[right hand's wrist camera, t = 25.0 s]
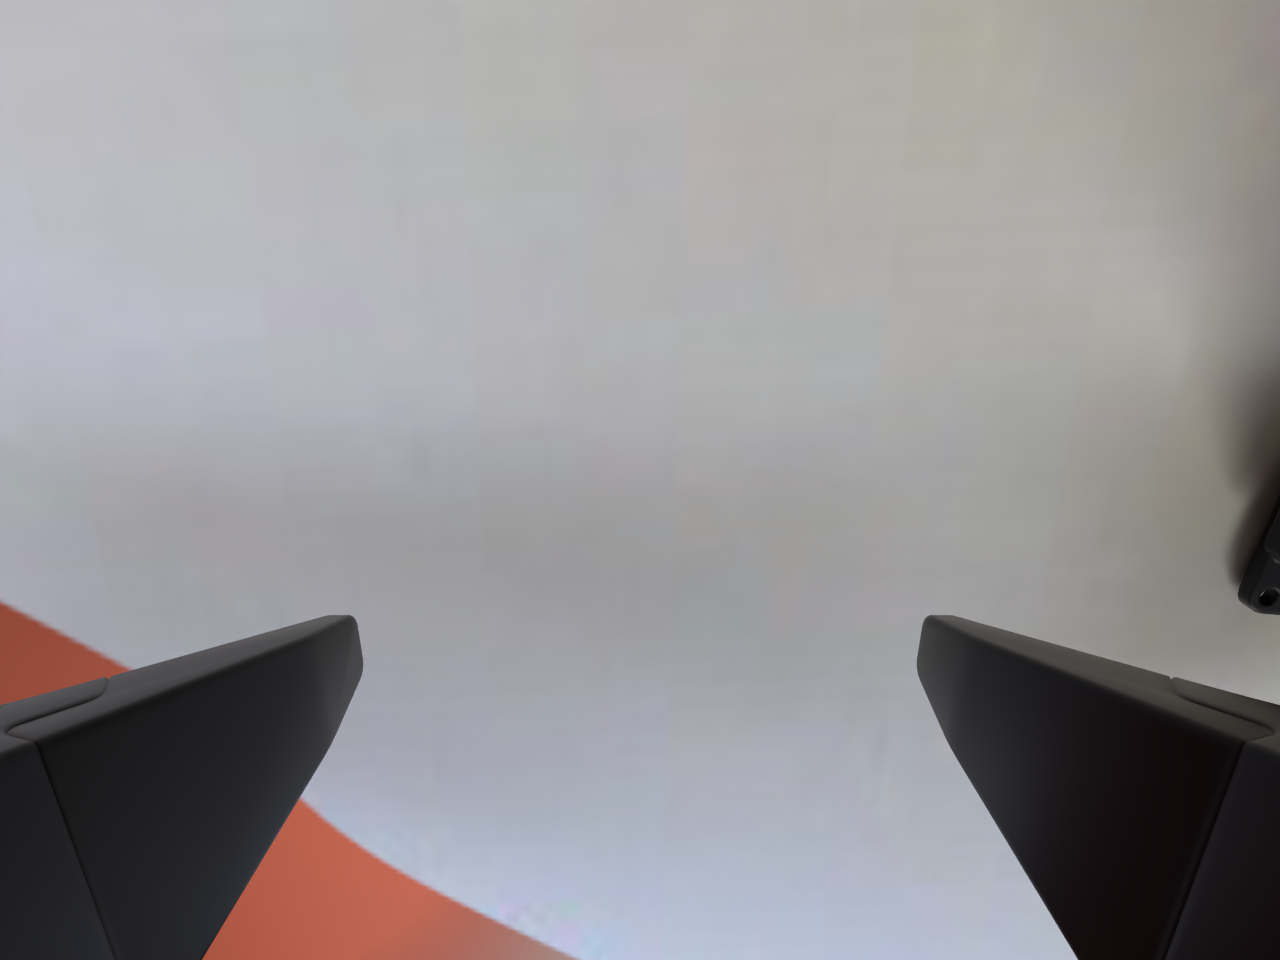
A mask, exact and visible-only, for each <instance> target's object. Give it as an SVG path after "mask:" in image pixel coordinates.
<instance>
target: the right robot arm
mask: <svg viewBox="0 0 1280 960" xmlns="http://www.w3.org/2000/svg"><path fill="white" fill-rule="evenodd" d="M1264 591H1265V592H1264ZM1262 592H1264V594H1263V595H1261V594H1262ZM1260 595H1261V596H1260ZM1259 596H1260V597H1259ZM1238 598H1239V600H1240V601H1241V602H1242V603H1243V604H1244V605H1246V606H1247V607H1249V608H1250V609H1252V610H1253V611H1255V612H1258V613H1263V614H1275V615H1280V497H1279V499H1278V501H1277V504H1276V506H1275V508H1274V511H1273V513H1272V515H1271V517H1270V520H1269V522H1268V524H1267V526H1266V529H1265V531H1264V533H1263V535H1262V538H1261V540H1260V542H1259V544H1258V547H1257V549H1256V551H1255V553H1254V556H1253V558H1252V560H1251V563H1250V565H1249V567H1248V569H1247V572H1246V574H1245V576H1244V578H1243V581H1242V583H1241V585H1240V587H1239V591H1238ZM362 671H363V657H362V651H361V644H360V638H359V632H358V626H357V622H356V620H355V618H354V617H353V616H350V615H329V616H324V617H320V618H317V619H313V620H310V621H306V622H303V623H299V624H296V625H292V626H288V627H285V628H281V629H278V630H274V631H271V632H267V633H263V634H260V635H256V636H253V637H249V638H246V639H242V640H239V641H235V642H231V643H228V644H224V645H221V646H217V647H214V648H210V649H207V650H203V651H199V652H196V653H192V654H189V655H185V656H182V657H178V658H174V659H171V660H167V661H164V662H160V663H157V664H153V665H150V666H146V667H142V668H139V669H135V670H132V671H128V672H125V673H121V674H118V675H114V676H111V677H110V679H108V678H106V677H104V678H100V679H96V680H93V681H89V682H85V683H82V684H79V685H75V686H71V687H67V688H64V689H60V690H56V691H52V692H49V693H45V694H41V695H38V696H34V697H30V698H26V699H23V700H19V701H15V702H11V703H7V704H3V705H0V960H202V959H203V957H204V955H205V954H206V952H207V950H208V949H209V947H210V945H211V944H212V942H213V940H214V939H215V937H216V935H217V934H218V932H219V930H220V929H221V927H222V925H223V924H224V922H225V920H226V919H227V917H228V915H229V914H230V912H231V911H232V909H233V907H234V906H235V904H236V902H237V901H238V899H239V897H240V895H241V894H242V892H243V891H244V889H245V887H246V886H247V884H248V882H249V881H250V879H251V877H252V876H253V874H254V872H255V871H256V869H257V867H258V866H259V864H260V862H261V861H262V859H263V857H264V856H265V854H266V852H267V851H268V849H269V847H270V846H271V844H272V842H273V841H274V839H275V838H276V836H277V834H278V832H279V831H280V829H281V827H282V826H283V824H284V823H285V821H286V819H287V817H288V816H289V814H290V813H291V811H292V809H293V808H294V806H295V804H296V803H297V801H298V799H299V798H300V796H301V794H302V793H303V791H304V789H305V788H306V786H307V784H308V783H309V781H310V779H311V778H312V776H313V774H314V773H315V771H316V769H317V768H318V766H319V765H320V763H321V761H322V760H323V758H324V756H325V754H326V753H327V751H328V749H329V747H330V745H331V743H332V741H333V739H334V737H335V735H336V733H337V731H338V728H339V726H340V724H341V722H342V719H343V717H344V715H345V713H346V710H347V708H348V706H349V704H350V701H351V699H352V697H353V694H354V692H355V690H356V688H357V685H358V683H359V681H360V678H361V675H362ZM917 671H918V675H919V678H920V681H921V683H922V685H923V688H924V690H925V692H926V694H927V697H928V699H929V701H930V704H931V706H932V708H933V710H934V713H935V715H936V717H937V719H938V722H939V724H940V726H941V728H942V731H943V733H944V735H945V737H946V739H947V741H948V743H949V745H950V747H951V749H952V751H953V753H954V754H955V756H956V758H957V760H958V761H959V763H960V765H961V766H962V768H963V769H964V771H965V773H966V774H967V776H968V778H969V779H970V781H971V783H972V784H973V786H974V788H975V789H976V791H977V793H978V794H979V796H980V798H981V799H982V801H983V803H984V804H985V806H986V808H987V809H988V811H989V813H990V814H991V816H992V818H993V819H994V821H995V823H996V824H997V826H998V828H999V829H1000V831H1001V833H1002V834H1003V836H1004V838H1005V839H1006V841H1007V842H1008V844H1009V846H1010V847H1011V849H1012V851H1013V852H1014V854H1015V856H1016V857H1017V859H1018V861H1019V862H1020V864H1021V866H1022V867H1023V869H1024V871H1025V872H1026V874H1027V876H1028V877H1029V879H1030V881H1031V882H1032V884H1033V886H1034V887H1035V889H1036V891H1037V892H1038V894H1039V896H1040V897H1041V899H1042V901H1043V902H1044V904H1045V906H1046V907H1047V909H1048V911H1049V912H1050V914H1051V915H1052V917H1053V919H1054V920H1055V922H1056V924H1057V925H1058V927H1059V929H1060V930H1061V932H1062V934H1063V935H1064V937H1065V939H1066V940H1067V942H1068V944H1069V945H1070V947H1071V949H1072V950H1073V952H1074V954H1075V955H1076V957H1077V959H1078V960H1280V705H1277V704H1273V703H1269V702H1265V701H1261V700H1258V699H1254V698H1250V697H1246V696H1242V695H1239V694H1235V693H1231V692H1228V691H1224V690H1220V689H1216V688H1213V687H1209V686H1205V685H1202V684H1198V683H1195V682H1191V681H1187V680H1184V679H1180V678H1177V677H1174V678H1172V679H1170V677H1169V676H1166V675H1162V674H1159V673H1155V672H1152V671H1148V670H1145V669H1141V668H1138V667H1134V666H1130V665H1127V664H1123V663H1120V662H1116V661H1113V660H1109V659H1106V658H1102V657H1098V656H1095V655H1091V654H1088V653H1084V652H1081V651H1077V650H1073V649H1070V648H1066V647H1063V646H1059V645H1056V644H1052V643H1049V642H1045V641H1041V640H1038V639H1034V638H1031V637H1027V636H1024V635H1020V634H1016V633H1013V632H1009V631H1006V630H1002V629H999V628H995V627H992V626H988V625H984V624H981V623H977V622H974V621H970V620H967V619H963V618H960V617H956V616H951V615H930V616H927V617H926V618H925V620H924V622H923V626H922V632H921V638H920V644H919V650H918V657H917Z"/></svg>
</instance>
